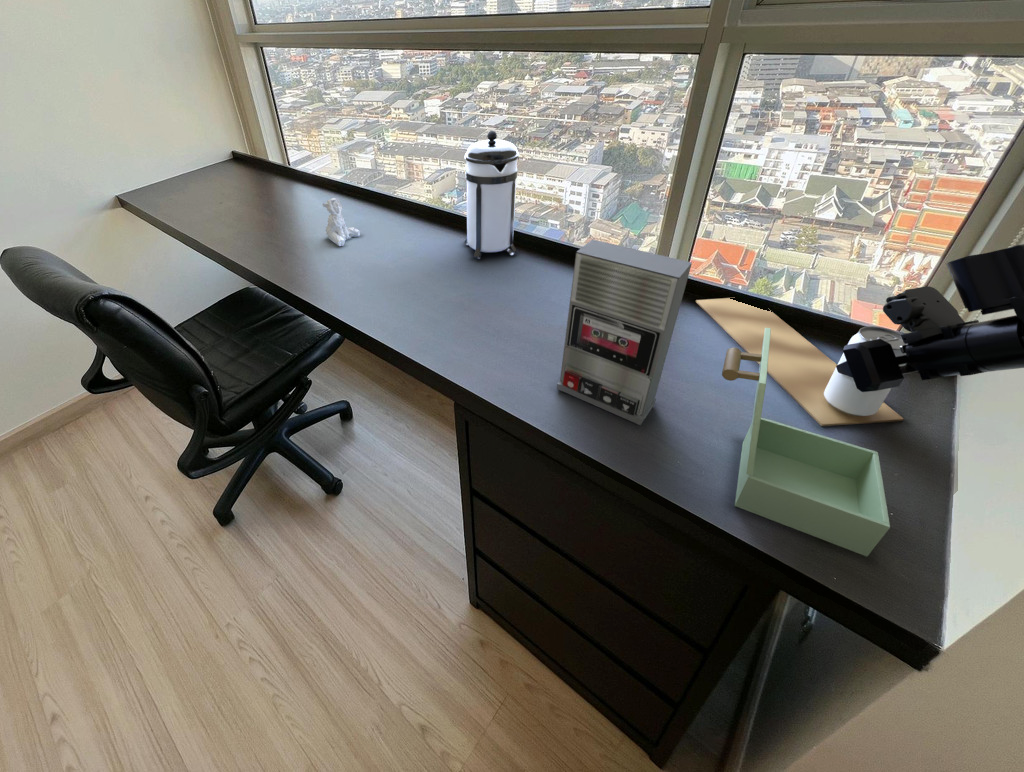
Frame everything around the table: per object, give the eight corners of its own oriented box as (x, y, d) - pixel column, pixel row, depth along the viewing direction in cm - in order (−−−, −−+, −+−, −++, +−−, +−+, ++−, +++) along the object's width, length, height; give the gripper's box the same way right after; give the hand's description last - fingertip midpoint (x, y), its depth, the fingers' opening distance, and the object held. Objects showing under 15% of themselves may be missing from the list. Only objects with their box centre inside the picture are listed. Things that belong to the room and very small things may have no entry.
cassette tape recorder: (555, 390, 80) (572, 253, 66) (572, 372, 84) (591, 238, 70) (639, 427, 72) (678, 280, 58) (654, 405, 76) (693, 262, 62)
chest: (858, 481, 62) (878, 451, 59) (867, 556, 54) (890, 527, 51) (742, 443, 68) (754, 415, 65) (734, 506, 60) (748, 477, 57)
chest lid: (771, 328, 59) (730, 324, 61) (766, 383, 51) (719, 377, 53) (758, 413, 65) (722, 407, 67) (752, 475, 57) (711, 466, 59)
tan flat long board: (902, 420, 70) (904, 418, 70) (821, 426, 70) (822, 424, 70) (752, 297, 100) (753, 296, 100) (695, 301, 100) (695, 300, 100)
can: (811, 394, 74) (843, 329, 68) (844, 385, 76) (878, 320, 69) (854, 422, 69) (892, 355, 63) (888, 411, 70) (929, 344, 64)
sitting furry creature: (341, 247, 134) (334, 206, 128) (318, 242, 138) (310, 202, 132) (361, 235, 141) (356, 195, 134) (339, 230, 145) (332, 191, 138)
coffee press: (530, 244, 129) (538, 126, 113) (498, 266, 119) (502, 140, 103) (477, 231, 139) (477, 120, 122) (443, 251, 128) (439, 133, 112)
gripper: (1023, 269, 58) (889, 303, 73) (892, 291, 56) (782, 322, 71) (1065, 359, 56) (918, 375, 71) (930, 386, 53) (808, 397, 68)
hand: (856, 365), depth 70 cm, fingers closed on can, 6 cm apart
